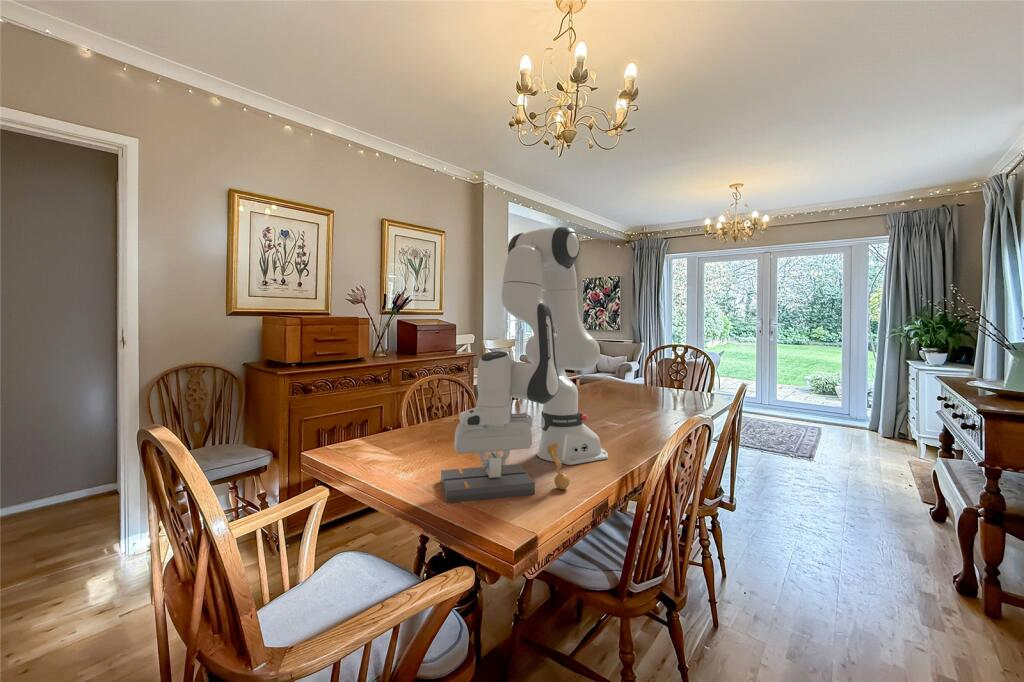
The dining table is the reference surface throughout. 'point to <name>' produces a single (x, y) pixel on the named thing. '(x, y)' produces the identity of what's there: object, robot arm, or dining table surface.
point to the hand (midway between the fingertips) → (493, 467)
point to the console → (485, 483)
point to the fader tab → (493, 464)
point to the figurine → (560, 479)
